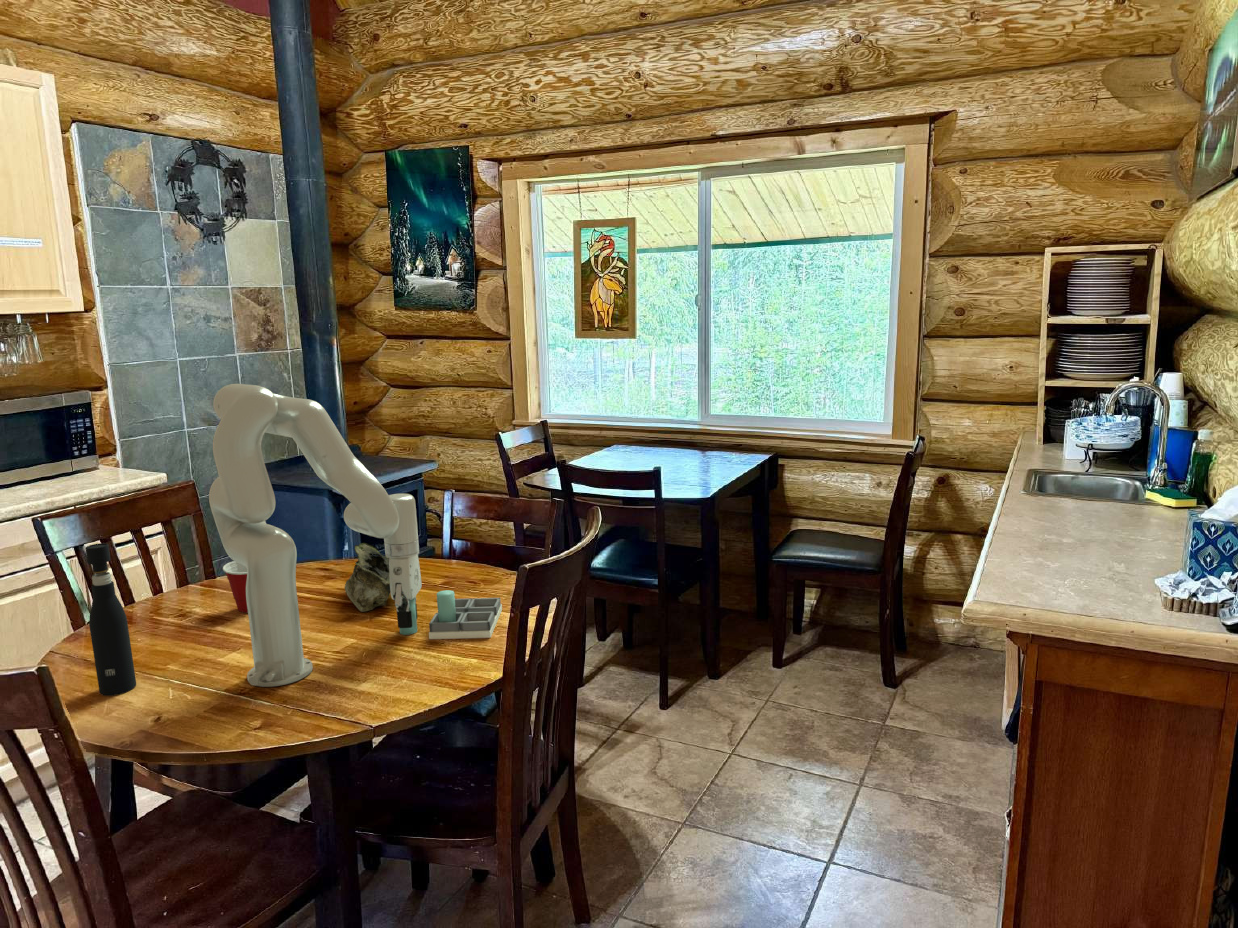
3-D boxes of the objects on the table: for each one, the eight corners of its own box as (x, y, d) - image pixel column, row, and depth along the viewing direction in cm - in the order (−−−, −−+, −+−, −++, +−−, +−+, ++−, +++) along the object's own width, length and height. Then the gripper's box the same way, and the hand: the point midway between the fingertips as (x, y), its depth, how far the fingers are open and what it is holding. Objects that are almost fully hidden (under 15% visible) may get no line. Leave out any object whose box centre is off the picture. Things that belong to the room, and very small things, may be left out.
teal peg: (415, 634, 192) (412, 601, 190) (397, 635, 192) (395, 602, 190) (419, 628, 195) (416, 595, 194) (402, 628, 196) (399, 596, 194)
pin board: (490, 637, 188) (488, 597, 187) (429, 639, 189) (426, 599, 187) (502, 609, 206) (500, 572, 204) (446, 610, 206) (443, 574, 204)
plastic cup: (242, 619, 204) (236, 573, 202) (219, 611, 211) (214, 565, 209) (282, 606, 213) (277, 561, 211) (259, 598, 219) (255, 555, 217)
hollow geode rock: (375, 596, 233) (333, 562, 229) (407, 562, 234) (365, 528, 230) (368, 629, 206) (319, 591, 202) (403, 591, 206) (356, 553, 203)
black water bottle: (129, 678, 172) (108, 539, 167) (141, 687, 168) (121, 544, 163) (94, 690, 167) (72, 547, 162) (106, 698, 163) (84, 552, 158)
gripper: (408, 558, 182) (415, 637, 185) (426, 537, 198) (432, 610, 201) (374, 559, 182) (381, 638, 185) (395, 538, 198) (401, 611, 201)
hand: (407, 622), depth 193 cm, fingers closed on teal peg, 4 cm apart
